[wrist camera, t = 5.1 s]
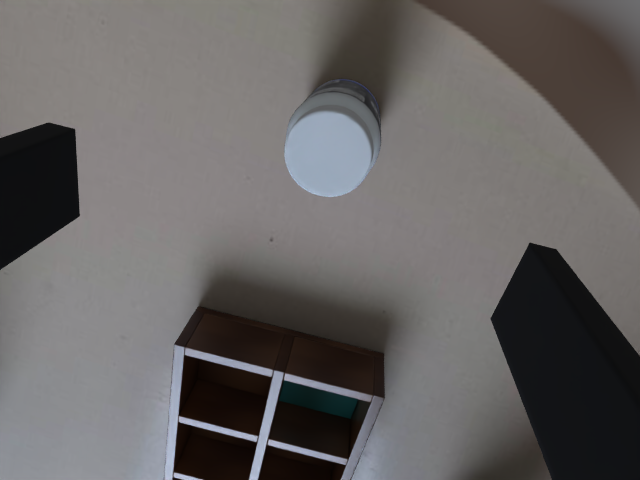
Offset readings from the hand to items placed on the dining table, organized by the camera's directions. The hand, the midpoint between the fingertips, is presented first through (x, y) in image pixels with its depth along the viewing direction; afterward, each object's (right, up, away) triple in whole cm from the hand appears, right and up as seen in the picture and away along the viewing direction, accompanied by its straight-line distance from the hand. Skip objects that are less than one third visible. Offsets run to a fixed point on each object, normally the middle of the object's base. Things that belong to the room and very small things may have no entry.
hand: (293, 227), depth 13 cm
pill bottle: (+2, +7, +14) cm, 16 cm away
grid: (-4, -17, +27) cm, 33 cm away
